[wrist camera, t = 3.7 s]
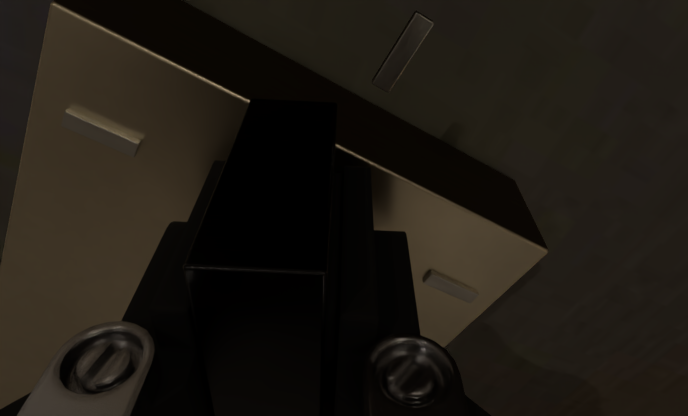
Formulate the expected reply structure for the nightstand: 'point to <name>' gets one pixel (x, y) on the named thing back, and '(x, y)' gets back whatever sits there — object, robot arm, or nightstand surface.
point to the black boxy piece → (267, 263)
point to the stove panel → (195, 163)
